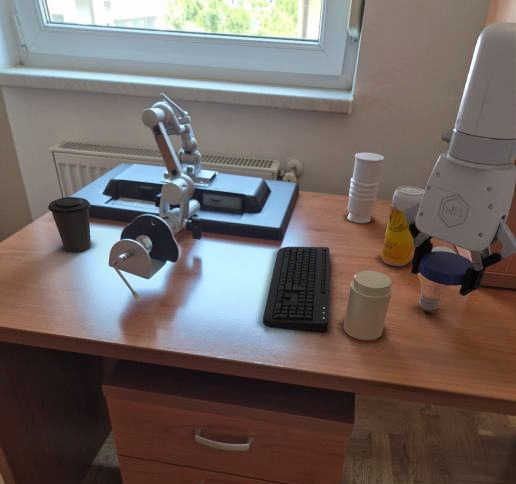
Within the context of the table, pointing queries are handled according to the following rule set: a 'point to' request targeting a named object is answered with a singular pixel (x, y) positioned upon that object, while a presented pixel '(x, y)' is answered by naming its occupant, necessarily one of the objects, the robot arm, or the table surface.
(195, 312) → the table surface
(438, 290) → the light bulb
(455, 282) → the lid
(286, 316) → the keyboard
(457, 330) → the table surface
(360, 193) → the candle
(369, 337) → the jar
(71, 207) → the coffee cup
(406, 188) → the yellow bottle
